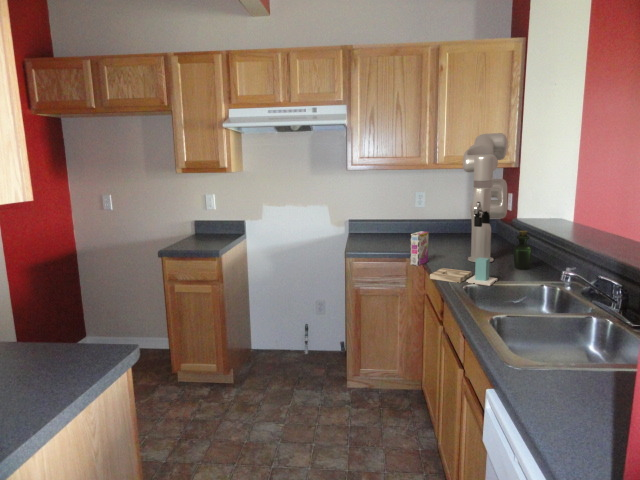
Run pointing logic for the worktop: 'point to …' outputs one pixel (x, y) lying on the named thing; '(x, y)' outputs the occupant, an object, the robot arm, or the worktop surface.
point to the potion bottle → (522, 252)
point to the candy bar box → (419, 248)
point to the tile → (487, 282)
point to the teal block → (482, 269)
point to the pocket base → (451, 275)
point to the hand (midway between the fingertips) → (481, 225)
